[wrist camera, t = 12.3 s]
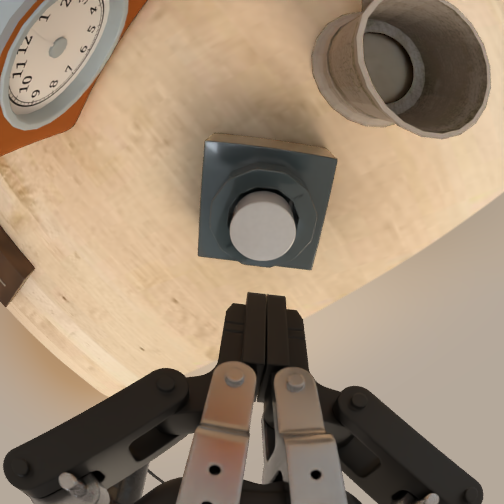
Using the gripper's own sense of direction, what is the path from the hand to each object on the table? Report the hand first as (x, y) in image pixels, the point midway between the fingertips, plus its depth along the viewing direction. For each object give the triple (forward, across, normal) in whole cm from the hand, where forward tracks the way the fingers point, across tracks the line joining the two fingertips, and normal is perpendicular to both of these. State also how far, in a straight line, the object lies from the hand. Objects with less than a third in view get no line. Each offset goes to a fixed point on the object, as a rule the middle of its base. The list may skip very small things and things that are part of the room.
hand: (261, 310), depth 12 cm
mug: (+15, -6, -14) cm, 21 cm away
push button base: (+15, 0, 0) cm, 15 cm away
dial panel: (+15, +34, +11) cm, 38 cm away
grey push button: (+9, 0, 0) cm, 9 cm away
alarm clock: (+15, +18, -12) cm, 26 cm away
